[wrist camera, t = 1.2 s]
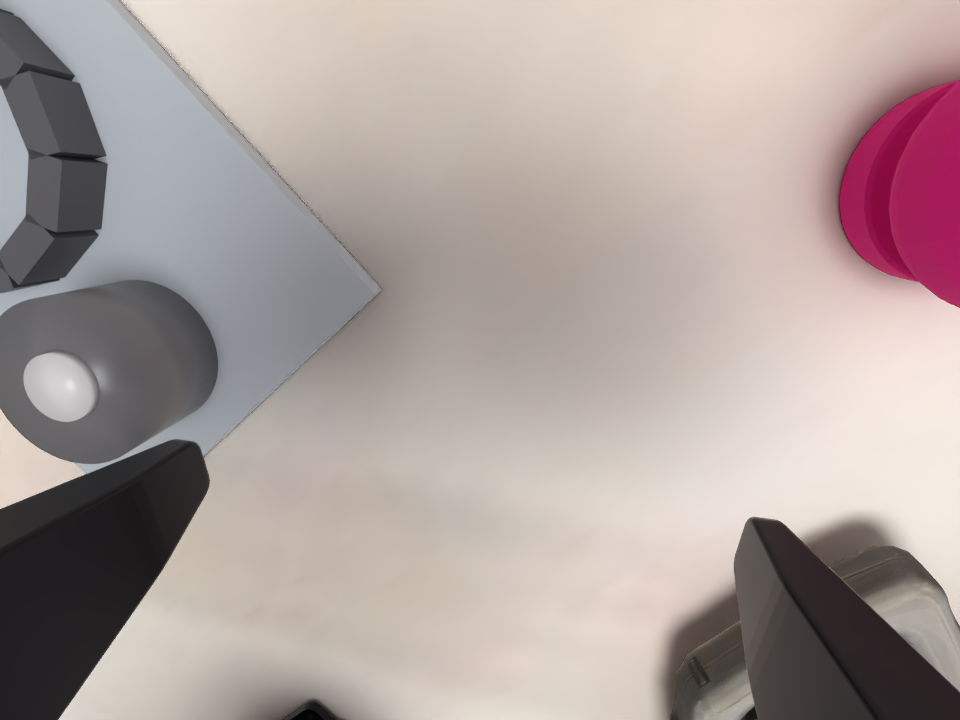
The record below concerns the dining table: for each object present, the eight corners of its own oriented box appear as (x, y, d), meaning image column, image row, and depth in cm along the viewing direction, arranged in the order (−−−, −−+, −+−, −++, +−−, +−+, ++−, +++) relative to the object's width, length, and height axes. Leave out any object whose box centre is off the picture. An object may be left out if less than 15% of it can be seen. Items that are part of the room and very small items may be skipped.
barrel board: (150, 506, 26) (101, 545, 23) (-204, 177, 23) (-311, 175, 20) (382, 289, 21) (356, 303, 18) (-20, -153, 18) (-124, -217, 16)
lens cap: (161, 445, 23) (77, 499, 19) (54, 343, 23) (-58, 377, 18) (247, 361, 22) (176, 400, 18) (135, 247, 21) (32, 260, 17)
